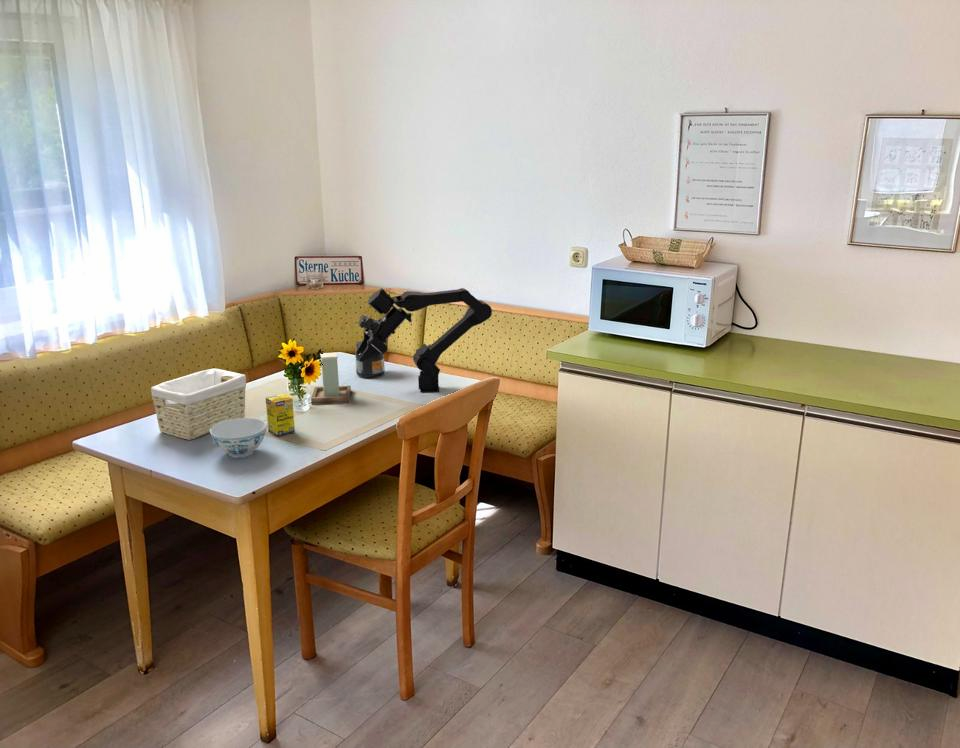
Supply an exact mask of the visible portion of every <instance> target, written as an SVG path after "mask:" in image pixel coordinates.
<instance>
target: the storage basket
mask: <svg viewBox="0 0 960 748" xmlns="http://www.w3.org/2000/svg"><path fill="white" fill-rule="evenodd" d="M222 380H223V381H222ZM246 387H247V377H246V374H243V373H238V372H234V371H229V370H226V369H225V370H224V369H220V368H210V369H206V370H201V371H196V372H194V373H191V374H187V375H184V376H181V377H178V378H174V379H171V380H168V381H164V382H160V383H159V384H156V385H154V386H151V388H150V390H151V391H150V393H151V398H152V401H153V406H154V409H155V411H154V412H155V414H156V420H157V423H158V429H159V431H160V432H161V433H164V434H166V435H170V436H174V437H177V438H181V439H185V440H189V441H191V440H194V439H197V438H199V437H202V436H204V435H207V434H210V429H211V428H212V427H213V426H214V425H216V424H218V423H220V422H223V421H226V420H231V419H237V418H246V414H245V413H246V411H245V410H246Z"/></svg>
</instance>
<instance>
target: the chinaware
mask: <svg viewBox="0 0 960 748" xmlns="http://www.w3.org/2000/svg"><path fill="white" fill-rule="evenodd" d="M266 432H267V423H266V422H265V421H264V420H261V419H259V418H255V417H245V418H237V419H231V420H226V421H223V422H220V423H218V424H216V425H214V426H213V427H212V428H211V429H210V433H209V434H210V436H211V439H212V440H213V442H214V444H215V445H216V447H218V448H219V449H220V450H221V451H222V452H224V453H226V454H228V456H229V457H230V456H232V457H231V458H233V457H242V458H246V457H245V456H247V457H249V456H251V455H252V454H253V453H254V450H256V449H257V448H258V447H259V446H260V445H261V443H262V442H263V440H264V439H265V436H266ZM250 454H251V455H250ZM248 455H249V456H248Z"/></svg>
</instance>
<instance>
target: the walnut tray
mask: <svg viewBox="0 0 960 748" xmlns="http://www.w3.org/2000/svg"><path fill="white" fill-rule="evenodd" d="M351 388H352V387H351V385H339V396H337V397H324V393H323V385H322V386H314V388H313V391H312V394H311V396H310V403H311V405H320V404H321V405H322V404H325V405H326V404H329V403H330V404H348V403H349V401H350V398H351V393H352V391H351Z"/></svg>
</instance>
